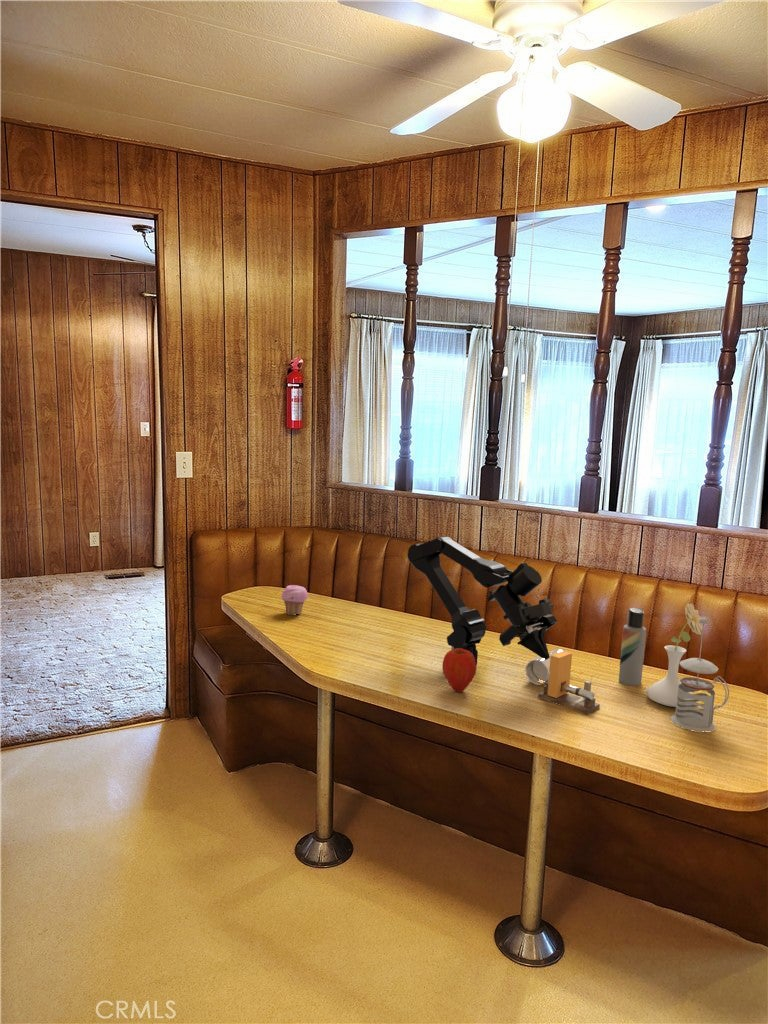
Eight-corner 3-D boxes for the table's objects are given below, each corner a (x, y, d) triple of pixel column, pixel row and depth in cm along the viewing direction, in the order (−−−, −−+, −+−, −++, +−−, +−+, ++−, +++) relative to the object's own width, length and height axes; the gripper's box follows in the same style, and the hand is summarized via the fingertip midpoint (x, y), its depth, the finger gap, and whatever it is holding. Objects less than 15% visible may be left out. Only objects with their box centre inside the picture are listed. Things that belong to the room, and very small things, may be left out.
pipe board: (538, 697, 170) (539, 677, 169) (554, 689, 175) (556, 670, 175) (587, 714, 160) (588, 694, 160) (603, 706, 166) (604, 686, 165)
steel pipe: (545, 686, 170) (545, 678, 170) (549, 684, 172) (549, 677, 172) (590, 701, 162) (591, 693, 162) (594, 699, 163) (594, 691, 163)
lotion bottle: (634, 678, 186) (640, 606, 184) (645, 686, 181) (652, 612, 178) (614, 678, 185) (621, 606, 183) (625, 686, 180) (632, 612, 177)
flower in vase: (671, 714, 163) (682, 612, 160) (635, 696, 173) (644, 599, 170) (710, 707, 169) (721, 607, 165) (672, 690, 179) (682, 596, 176)
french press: (679, 710, 165) (689, 609, 162) (730, 726, 157) (742, 620, 154) (663, 722, 158) (673, 616, 155) (716, 739, 150) (728, 628, 147)
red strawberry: (437, 684, 175) (440, 643, 174) (470, 684, 176) (473, 643, 175) (444, 697, 167) (446, 654, 166) (478, 697, 168) (481, 654, 166)
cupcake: (282, 610, 238) (283, 581, 236) (307, 610, 238) (308, 582, 237) (280, 617, 229) (280, 587, 228) (306, 618, 229) (307, 588, 228)
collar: (547, 694, 168) (550, 655, 166) (560, 689, 172) (563, 650, 171) (556, 698, 166) (559, 658, 165) (568, 692, 170) (572, 653, 169)
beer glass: (546, 668, 192) (523, 681, 180) (549, 644, 191) (526, 655, 179) (570, 675, 188) (548, 689, 176) (573, 650, 187) (551, 663, 175)
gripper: (512, 593, 166) (549, 649, 159) (553, 583, 179) (589, 635, 173) (484, 618, 172) (518, 673, 166) (525, 607, 185) (558, 657, 179)
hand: (547, 658), depth 171 cm, fingers closed
